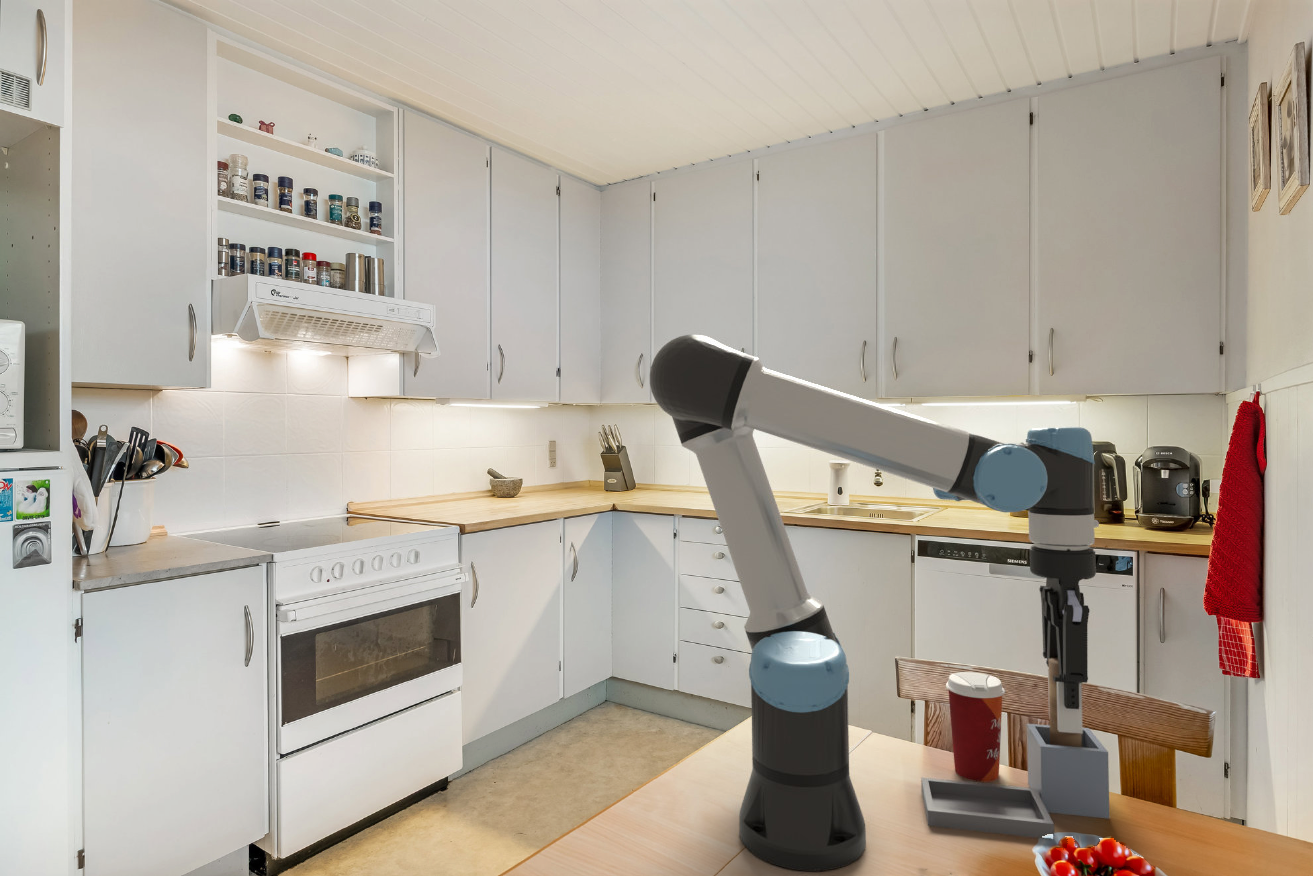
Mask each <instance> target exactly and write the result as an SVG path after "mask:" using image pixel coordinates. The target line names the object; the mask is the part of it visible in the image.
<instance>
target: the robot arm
mask: <svg viewBox="0 0 1313 876" xmlns="http://www.w3.org/2000/svg"><path fill="white" fill-rule="evenodd" d="M654 356H655V357H654V358H653V360H652V363H651V366H650V372H649V386H650V390H651V394H652V395H653V398H654V400H655V402H656V404H657V405H658V406H659V407H660V408H661V410H663V411H664V412H665V413H667V414H668V415H669V416H671V418H672V421H673V424H674V427H675V429H676V432H677V436H678V438H679V440H680V444H681V447H682V448H685V449H687V450H688V451H691V452H692V453H694V455H696V458H697V461H698V463H699V466H700V470H701V473H702V476H703V479H704V482H705V485H706V487H707V491H708V493H709V496H710V499H711V502H712V504H713V508H714V511H715V513H716V517H717V519H718V523H719V525H720V528H721V530H722V531H721V532H722V535H723V537H724V540H725V543H726V545H727V549H728V551H729V554H730V557H731V560H732V563H733V565H734V568H735V571H736V575H737V578H738V580H739V584H740V587H741V589H742V593H743V595H744V599H745V601H746V605H747V607H748V610H749V616H748V618H747V619H746V622H745V624H744V627H743V628H744V630H745V633H746V637H747V639H748V643H749V647H750V649H751V655H750V662H749V667H748V677H749V679H750V680H749V681H750V683H751V685H750V691H751V692H750V693H751V697H750V698H751V699H750V700H751V701H750V702H751V749H752V750H751V751H752V756H751V757H752V759H751V760H752V769H751V772H750V777H749V780H748V783H747V786H746V790H745V792H744V795H743V799H742V802H741V806H740V808H739V815H738V816H739V817H738V821H739V822H738V823H739V824H738V825H739V828H738V831H739V838H740V840H741V841H742V844H743V846H745V848H746V849H747V850H749V852H750V853H752V854H753V855H754V856H755V857H758V858H759V859H761V860H763V861H765V862H767V863H770V864H771V865H772V864H773V865H775V866H778V867H782V868H786V869H790V870H796V871H810V872H813V871H814V872H815V871H816V872H817V871H829V870H834V869H838V868H841V867H845V866H847V865H849V864H851V863H853V862H855V861H856V860H857V859H859V857H860V856H862V854H863V853H864V851H865V850H866V849H865V848H866V846H867V845H866V844H867V843H866V842H867V839H866V838H867V836H866V835H867V834H866V822H865V817H864V814H863V812H862V808H861V806H860V803H859V801H858V798H857V795H856V794H857V793H856V792H855V789H854V786H853V783H852V779H851V777H850V747H849V746H850V743H849V742H850V740H849V739H850V738H849V737H850V736H849V735H850V734H849V733H850V731H849V695H848V694H849V692H848V690H849V689H848V686H849V682H850V670H849V669H850V668H849V666H848V664H847V663H848V661H847V656H846V653H845V651H844V649H843V647H842V645H841V643H840V640H839V639H838V638H837V636H836V634H835V631H833V628H832V625H831V622H830V620H829V617H828V615H827V611H826V609H825V606H824V605H825V604H824V603H823V601H822V600H820V599H818V598H817V597H814V596H812V595H811V594H810V593H808V590H807V587H806V584H805V582H804V578H803V575H802V572H801V570H800V568H799V565H798V562H797V559H796V556H795V553H794V550H793V547H792V545H791V541H790V539H789V536H788V533H787V529H786V528H785V524H784V521H783V518H782V515H781V513H780V510H779V507H778V503H777V502H776V499H775V496H774V493H773V489H772V487H771V484H770V481H769V478H768V476H767V472H766V470H765V468H764V463H763V461H762V458H761V456H760V453H759V449H758V448H757V445H756V441H755V438H754V436H753V435H754V431H755V430H756V431H759V432H762V433H765V434H768V435H771V436H774V437H777V438H780V439H784V440H787V441H790V442H793V443H796V444H798V445H802V446H805V447H807V448H810V449H814V450H816V451H820V452H824V453H827V454H829V455H833V456H835V457H838V458H841V459H845V460H847V461H851V462H853V463H856V464H860V465H863V466H866V467H869V468H872V469H874V470H878V471H881V472H883V473H886V474H887V473H888V474H889V475H890V474H891V475H892V476H896V477H898V478H899V477H900V478H903V479H905V480H909V481H911V482H913V483H914V482H915V483H917V484H921V485H924V486H926V487H929V488H932V490H933V493H934V495H935V497H936V498H937V499H939V500H944V501H945V500H946V501H947V500H948V501H956V502H961V501H971V502H974V503H977V504H980V505H983V506H986V507H987V508H989V509H991V510H994V511H997V512H1000V513H1004V514H1005V513H1007V514H1008V513H1018V512H1023V511H1025V510H1028V516H1027V517H1028V541H1030V542H1031V543H1033V544H1032V545H1031V547H1030V548H1029V570H1030V573H1031V574H1032V575H1034V576H1037V577H1040V578H1044V579H1046V582H1045V585H1044V584H1043V585H1040V587H1039V588H1038V589H1039V594H1040V602H1041V623H1042V626H1041V627H1042V649H1043V651H1042V656H1043V658H1044V659H1046V662H1045V663H1046V665H1047V667H1048V668H1047V681H1048V683H1047V685H1048V686H1047V687H1048V689H1047V690H1048V691H1047V692H1048V698H1049V662H1048V660H1049V659H1051V658H1058V666H1059V676H1053V680H1054V682H1057V730H1058V731H1059V732H1068V733H1081V734H1083V728H1084V727H1083V684H1084V683H1085V684H1087V683H1088V681H1089V676H1088V673H1089V671H1088V670H1089V669H1088V623H1089V617H1090V616H1089V615H1090V608H1089V605H1085V597H1084V592H1081V589H1080V585H1079V584H1080V581H1081V580H1090V579H1093V578H1094V577H1095V576H1096V574H1097V572H1096V570H1097V568H1096V567H1097V565H1096V564H1097V563H1096V562H1097V560H1096V551H1095V550H1094V548H1092V547H1090V546H1093V545H1094V544H1095V541H1096V540H1095V537H1096V536H1095V528H1099V526H1100V522H1099V521H1098V520H1097V519H1095V508H1094V507H1095V505H1094V504H1095V497H1094V496H1095V494H1094V493H1095V465H1096V463H1095V459H1094V458H1095V457H1094V446H1093V439H1092V438H1093V437H1092V434H1091V432H1090V431H1089V430H1088V429H1086V428H1084V427H1079V426H1078V427H1075V426H1074V427H1072V426H1071V427H1069V426H1068V427H1038V428H1037V427H1033V428H1030V429H1029V430H1028V431H1027V437H1026V439H1025V442H1020V443H1019V442H1016V443H1004V442H1001V441H997V440H994V439H991V438H988V437H984V436H981V435H978V434H974V433H970V432H968V431H965V430H963V429H959V428H957V427H953V426H950V425H946V424H944V423H940V422H937V421H934V420H931V419H928V418H924V417H921V416H918V415H915V414H911V413H908V412H905V411H902V410H899V409H896V408H893V407H889V406H885V405H882V404H880V403H876V402H873V401H870V400H867V399H864V398H859V397H857V396H854V395H850V394H848V393H845V392H842V391H841V392H840V391H838V390H834V389H831V388H828V387H825V386H822V385H819V384H816V383H812V382H809V381H806V380H803V379H800V378H796V377H793V376H791V375H786V374H784V373H781V372H778V371H774V370H771V369H767V368H765V367H764V365H763V363H762V361H761V360H760V358H759V357H757V356H754V355H751V354H747V353H744V352H742V351H739V350H736V349H733V348H732V347H730V346H727V345H725V344H723V343H720V342H719V341H717V340H715V339H714V338H712V337H708V336H707V335H702V334H686V335H681V336H678V337H676V338H674V339H671V340H670V341H668V342H667V343H666V344H664V345H663V346H662V347H661V348H660V350H659V351H658V352H657V354H656V355H654ZM1048 718H1049V719H1050V715H1049V714H1048Z"/></svg>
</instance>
